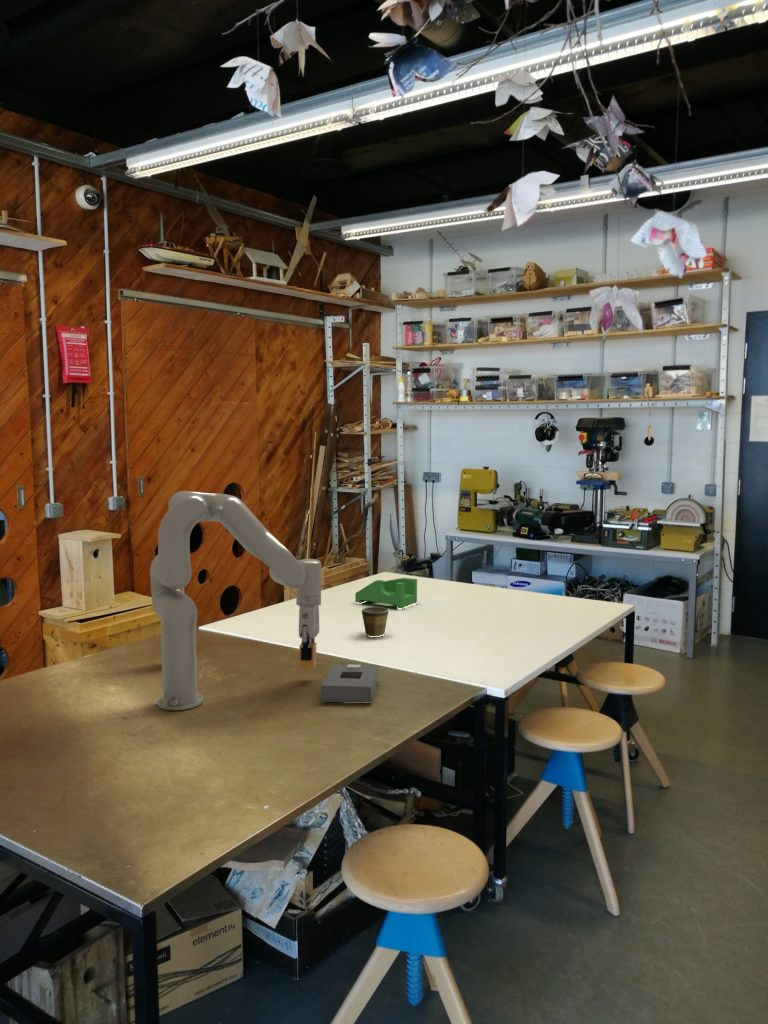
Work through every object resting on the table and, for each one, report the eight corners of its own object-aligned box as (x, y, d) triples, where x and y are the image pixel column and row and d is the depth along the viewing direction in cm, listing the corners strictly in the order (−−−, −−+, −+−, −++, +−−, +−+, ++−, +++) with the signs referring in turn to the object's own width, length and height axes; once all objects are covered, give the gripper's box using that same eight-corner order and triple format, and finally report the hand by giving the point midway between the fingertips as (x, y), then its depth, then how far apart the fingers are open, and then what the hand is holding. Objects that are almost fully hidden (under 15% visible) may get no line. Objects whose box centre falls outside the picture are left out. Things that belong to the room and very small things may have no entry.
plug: (313, 668, 234) (313, 639, 233) (299, 668, 234) (299, 639, 233) (316, 664, 238) (316, 636, 237) (302, 663, 239) (302, 635, 238)
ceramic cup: (392, 637, 286) (392, 611, 285) (367, 640, 283) (367, 613, 281) (379, 629, 298) (379, 604, 297) (355, 631, 295) (355, 606, 293)
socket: (370, 704, 216) (370, 684, 216) (322, 702, 218) (321, 682, 217) (377, 681, 236) (377, 662, 236) (333, 679, 238) (332, 661, 237)
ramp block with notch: (416, 605, 340) (417, 579, 339) (401, 611, 329) (401, 584, 328) (371, 599, 353) (371, 573, 352) (355, 604, 342) (355, 578, 340)
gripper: (315, 605, 226) (314, 666, 227) (325, 594, 242) (324, 651, 244) (290, 604, 226) (290, 665, 228) (302, 593, 243) (301, 650, 245)
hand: (307, 657), depth 236 cm, fingers closed on plug, 4 cm apart
